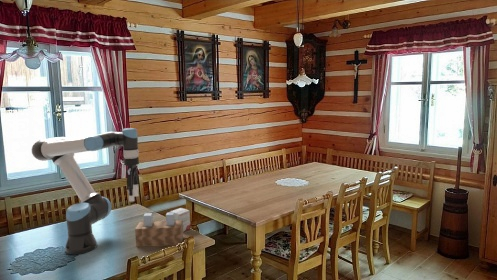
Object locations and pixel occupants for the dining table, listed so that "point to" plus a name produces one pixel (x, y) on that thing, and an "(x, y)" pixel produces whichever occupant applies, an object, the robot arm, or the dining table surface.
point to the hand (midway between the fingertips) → (133, 198)
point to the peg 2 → (170, 219)
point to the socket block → (159, 234)
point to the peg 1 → (148, 220)
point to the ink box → (182, 217)
